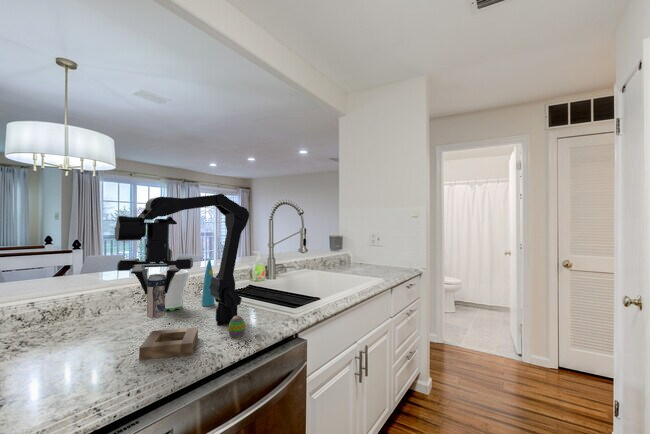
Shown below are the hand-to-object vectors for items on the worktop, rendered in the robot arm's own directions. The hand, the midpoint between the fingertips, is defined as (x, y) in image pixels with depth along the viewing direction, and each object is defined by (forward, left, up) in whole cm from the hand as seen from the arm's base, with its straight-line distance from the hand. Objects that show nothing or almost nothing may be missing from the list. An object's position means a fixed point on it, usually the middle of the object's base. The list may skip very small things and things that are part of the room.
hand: (156, 293), depth 89 cm
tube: (-12, -34, -13) cm, 39 cm away
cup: (+1, -31, -13) cm, 34 cm away
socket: (-6, +9, -13) cm, 16 cm away
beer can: (0, 0, -7) cm, 7 cm away
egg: (-23, +4, -13) cm, 26 cm away
